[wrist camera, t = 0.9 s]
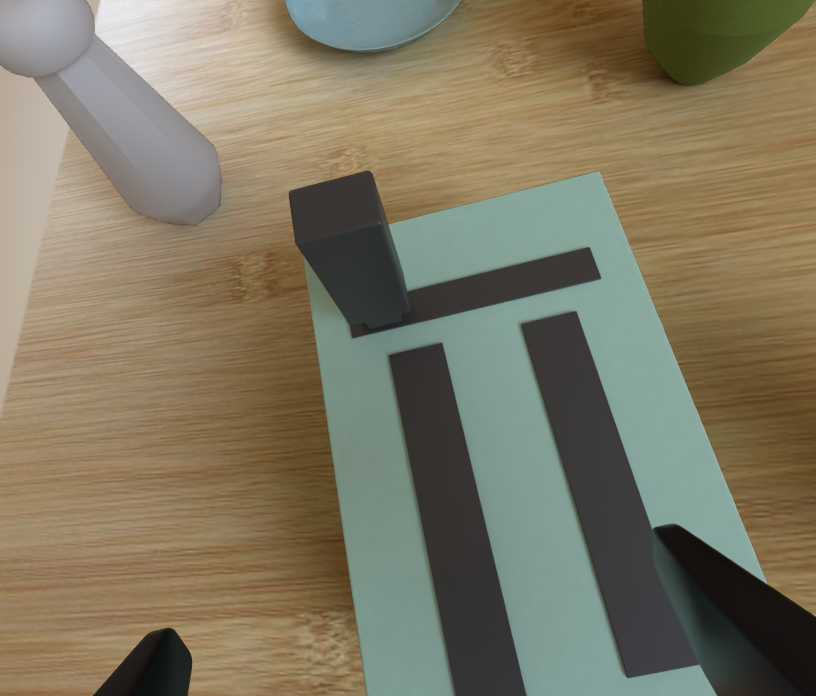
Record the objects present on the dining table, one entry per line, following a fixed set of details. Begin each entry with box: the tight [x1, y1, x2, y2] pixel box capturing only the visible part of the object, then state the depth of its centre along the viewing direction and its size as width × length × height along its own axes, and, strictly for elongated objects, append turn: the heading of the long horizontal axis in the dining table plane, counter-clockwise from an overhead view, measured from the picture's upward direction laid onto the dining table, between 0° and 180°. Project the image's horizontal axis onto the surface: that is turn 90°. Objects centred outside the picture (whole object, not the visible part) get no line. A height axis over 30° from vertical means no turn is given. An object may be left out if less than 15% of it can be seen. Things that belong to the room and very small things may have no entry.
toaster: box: [303, 171, 767, 696], centre depth 19 cm, size 16×11×9 cm
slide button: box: [289, 171, 411, 329], centre depth 14 cm, size 2×2×6 cm
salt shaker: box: [0, 0, 222, 225], centre depth 25 cm, size 6×6×13 cm
